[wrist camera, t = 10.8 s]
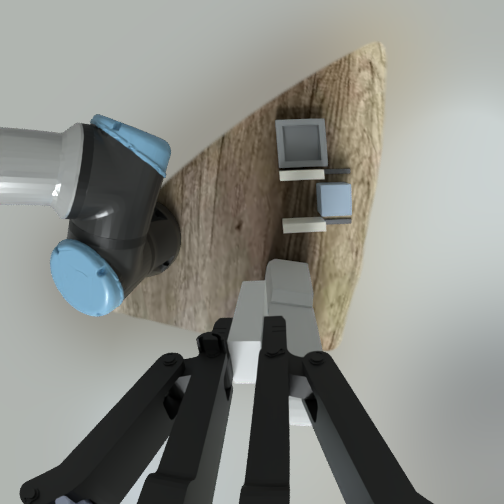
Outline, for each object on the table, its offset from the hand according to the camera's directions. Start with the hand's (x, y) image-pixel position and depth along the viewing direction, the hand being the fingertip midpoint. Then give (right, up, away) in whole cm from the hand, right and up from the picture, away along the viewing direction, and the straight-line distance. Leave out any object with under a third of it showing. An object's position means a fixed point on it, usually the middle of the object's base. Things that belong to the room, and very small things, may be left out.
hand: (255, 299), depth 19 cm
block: (+14, +13, +29) cm, 34 cm away
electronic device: (+6, -4, +35) cm, 36 cm away
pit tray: (+8, +22, +26) cm, 35 cm away
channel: (+8, +13, +29) cm, 33 cm away
